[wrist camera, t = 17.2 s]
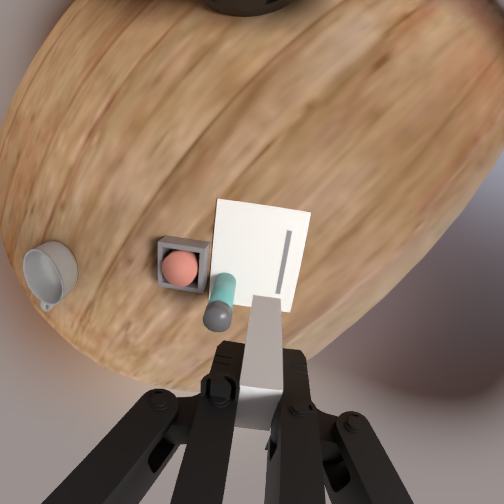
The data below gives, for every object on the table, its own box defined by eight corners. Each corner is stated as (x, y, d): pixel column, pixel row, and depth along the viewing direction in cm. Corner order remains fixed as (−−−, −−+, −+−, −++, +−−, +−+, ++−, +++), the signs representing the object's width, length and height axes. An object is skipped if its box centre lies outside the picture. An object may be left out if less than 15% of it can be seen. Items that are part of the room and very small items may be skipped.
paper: (217, 198, 37) (217, 198, 37) (310, 212, 37) (310, 212, 37) (208, 299, 43) (208, 299, 42) (289, 311, 42) (289, 312, 42)
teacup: (54, 225, 41) (26, 237, 33) (92, 258, 42) (65, 276, 35) (42, 277, 45) (19, 293, 37) (76, 308, 46) (54, 328, 39)
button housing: (165, 235, 40) (157, 241, 37) (210, 242, 39) (205, 248, 37) (164, 277, 42) (158, 285, 39) (206, 284, 42) (202, 293, 39)
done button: (170, 243, 39) (161, 251, 36) (202, 248, 39) (196, 256, 36) (169, 274, 41) (161, 283, 38) (200, 279, 41) (194, 289, 38)
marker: (213, 272, 40) (200, 309, 31) (235, 271, 40) (229, 309, 31) (216, 292, 42) (205, 332, 32) (237, 291, 42) (232, 332, 32)
